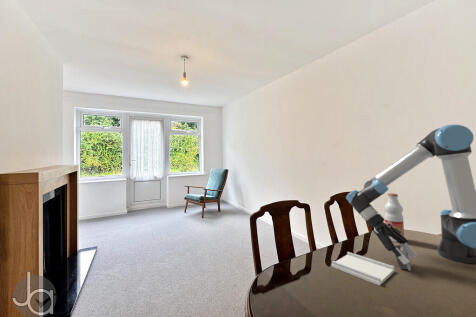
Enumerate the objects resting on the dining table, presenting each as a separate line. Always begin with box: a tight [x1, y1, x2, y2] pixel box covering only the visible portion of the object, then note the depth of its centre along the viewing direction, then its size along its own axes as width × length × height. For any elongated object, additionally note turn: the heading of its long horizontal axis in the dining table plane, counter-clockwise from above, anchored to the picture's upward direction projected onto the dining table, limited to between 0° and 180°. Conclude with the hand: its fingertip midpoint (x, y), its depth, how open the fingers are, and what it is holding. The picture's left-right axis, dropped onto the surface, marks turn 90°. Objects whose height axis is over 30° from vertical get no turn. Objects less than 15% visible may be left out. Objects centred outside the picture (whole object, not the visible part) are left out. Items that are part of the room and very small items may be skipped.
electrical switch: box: [394, 243, 412, 272], centre depth 98 cm, size 9×5×9 cm, turn 141°
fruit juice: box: [384, 192, 405, 243], centre depth 131 cm, size 9×9×28 cm
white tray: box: [330, 251, 396, 286], centre depth 97 cm, size 20×17×2 cm
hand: (411, 260), depth 95 cm, fingers closed on electrical switch, 9 cm apart
